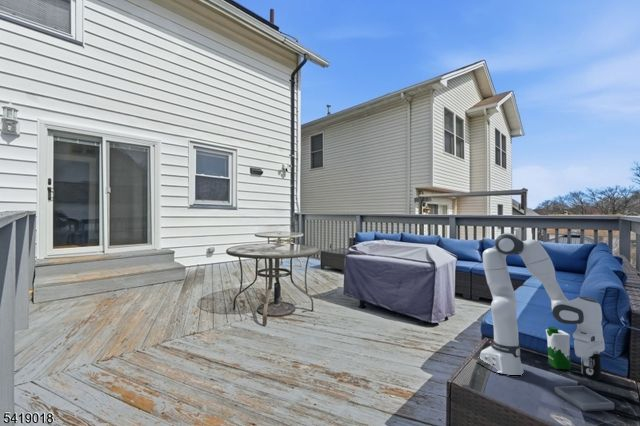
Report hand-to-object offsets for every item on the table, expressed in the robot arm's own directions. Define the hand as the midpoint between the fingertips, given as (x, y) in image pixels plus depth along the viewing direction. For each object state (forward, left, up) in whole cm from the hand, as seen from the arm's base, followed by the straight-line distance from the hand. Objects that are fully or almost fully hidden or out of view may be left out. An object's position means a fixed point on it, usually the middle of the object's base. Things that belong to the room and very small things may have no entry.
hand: (590, 363), depth 137 cm
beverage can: (0, 0, -6) cm, 6 cm away
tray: (+2, -15, -11) cm, 19 cm away
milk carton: (-19, +13, -12) cm, 26 cm away
